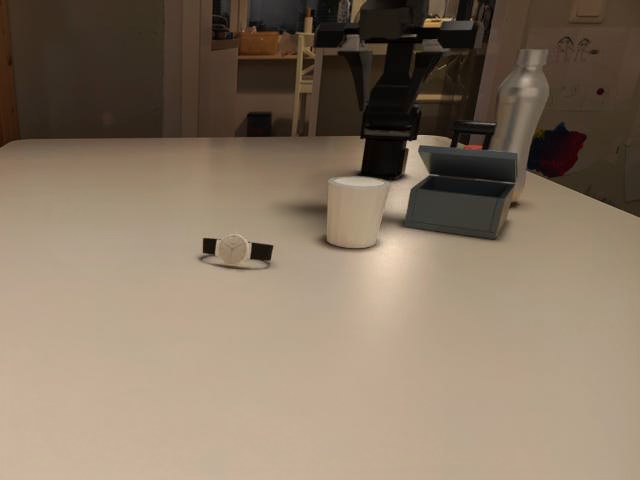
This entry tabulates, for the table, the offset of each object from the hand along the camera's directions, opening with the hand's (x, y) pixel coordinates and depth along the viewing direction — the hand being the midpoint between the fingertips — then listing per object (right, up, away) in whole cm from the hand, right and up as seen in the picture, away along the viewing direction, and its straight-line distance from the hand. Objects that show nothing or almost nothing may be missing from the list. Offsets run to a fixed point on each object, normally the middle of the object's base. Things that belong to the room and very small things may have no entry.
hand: (383, 112), depth 78 cm
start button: (+25, +3, +27) cm, 37 cm away
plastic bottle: (+20, -9, +12) cm, 25 cm away
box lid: (+10, -8, -2) cm, 13 cm away
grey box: (+10, -14, +2) cm, 17 cm away
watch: (-20, -21, -11) cm, 31 cm away
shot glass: (-6, -18, -5) cm, 19 cm away
